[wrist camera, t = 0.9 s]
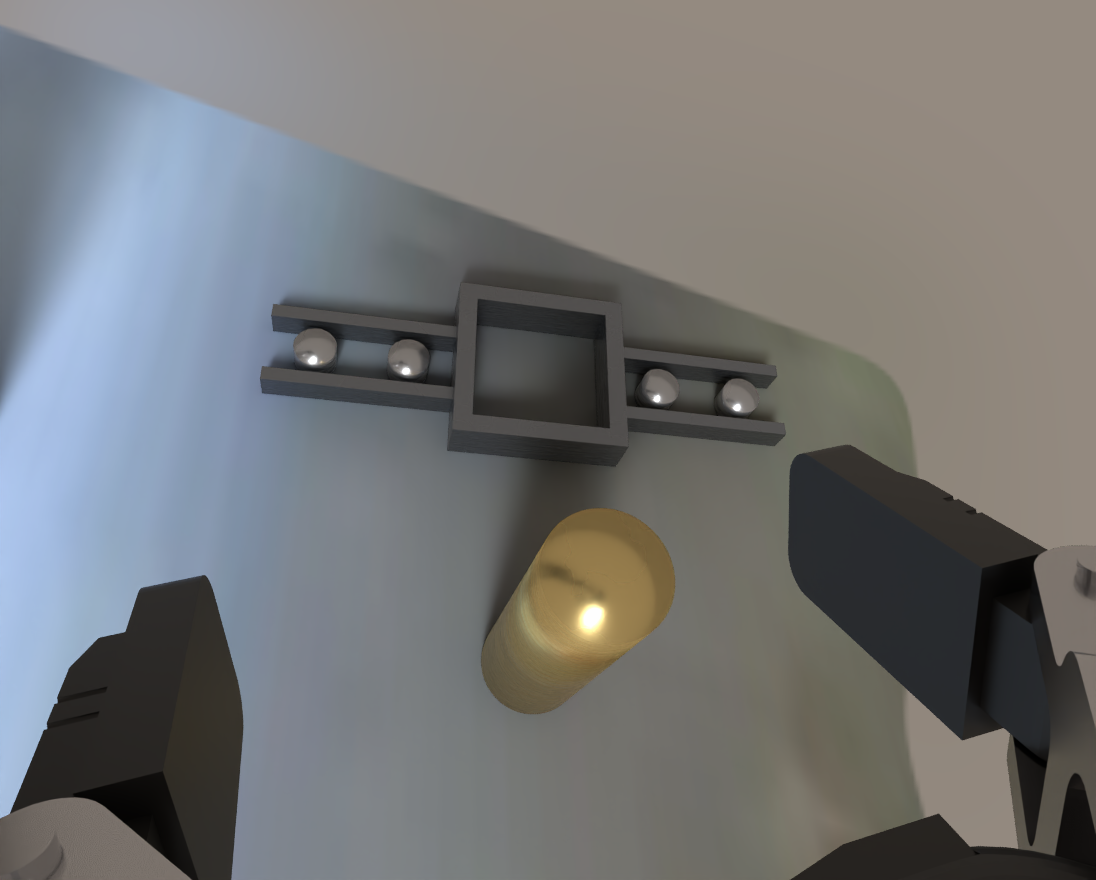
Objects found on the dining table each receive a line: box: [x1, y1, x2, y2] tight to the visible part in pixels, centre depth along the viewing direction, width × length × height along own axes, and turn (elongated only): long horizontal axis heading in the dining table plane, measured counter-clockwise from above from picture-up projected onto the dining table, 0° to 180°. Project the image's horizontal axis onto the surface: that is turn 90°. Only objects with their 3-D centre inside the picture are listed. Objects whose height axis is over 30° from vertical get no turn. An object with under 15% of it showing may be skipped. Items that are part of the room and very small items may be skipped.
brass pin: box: [481, 508, 675, 714], centre depth 29 cm, size 4×4×11 cm
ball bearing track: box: [260, 282, 786, 466], centre depth 39 cm, size 24×8×2 cm, turn 90°
